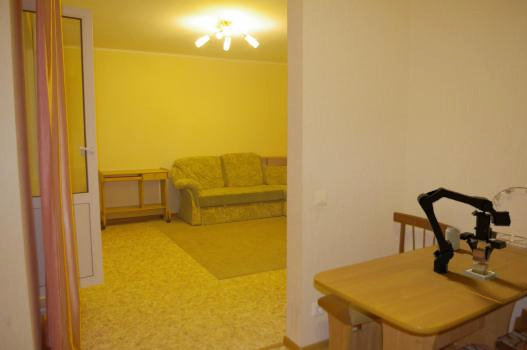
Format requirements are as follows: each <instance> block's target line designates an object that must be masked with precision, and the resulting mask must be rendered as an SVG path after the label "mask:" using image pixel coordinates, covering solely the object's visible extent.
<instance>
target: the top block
mask: <svg viewBox="0 0 527 350" xmlns="http://www.w3.org/2000/svg"><path fill="white" fill-rule="evenodd" d="M490 259H491V256H490V257H489V259H488V260H486V258H485V248H483V247H477V248H476V249H473V253H472V261H473V262H477V261H478V262H481V263H488V262H490Z"/></svg>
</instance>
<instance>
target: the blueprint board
mask: <svg viewBox="0 0 527 350" xmlns="http://www.w3.org/2000/svg"><path fill="white" fill-rule="evenodd" d="M460 274H463V275H467V276H469V277H472V278H475V279H478V280H481V281H484V282H488V281H490V280H492V279H495V278H497V277H500V276H501V274H499V273H496V272H494V271H491V270H489V274H487V275H485V276H482V275H479V274H476V273H473V272H472V267H471V268H469V269H466V270H463V271H461V272H460Z"/></svg>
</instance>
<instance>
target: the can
mask: <svg viewBox="0 0 527 350" xmlns="http://www.w3.org/2000/svg"><path fill="white" fill-rule="evenodd" d="M461 233H462V232H461V230H460V228H459V227H455V226H447V227H446V229H445V236H444V237H445V240H448V239H449V240H450V242H451V243H452V247H453V249H454V250H455V251H459V249H460V247H461V239H459V238H460V234H461Z"/></svg>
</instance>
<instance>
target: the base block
mask: <svg viewBox="0 0 527 350" xmlns="http://www.w3.org/2000/svg"><path fill="white" fill-rule="evenodd" d="M471 268H472V272H473V273H476V274H479V275H482V276H485V275H487V274H489V271H490V263H488V262H485V263H481V262H478V261H473V262H472V265H471Z"/></svg>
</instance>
